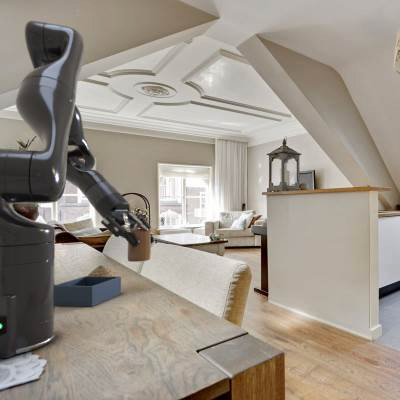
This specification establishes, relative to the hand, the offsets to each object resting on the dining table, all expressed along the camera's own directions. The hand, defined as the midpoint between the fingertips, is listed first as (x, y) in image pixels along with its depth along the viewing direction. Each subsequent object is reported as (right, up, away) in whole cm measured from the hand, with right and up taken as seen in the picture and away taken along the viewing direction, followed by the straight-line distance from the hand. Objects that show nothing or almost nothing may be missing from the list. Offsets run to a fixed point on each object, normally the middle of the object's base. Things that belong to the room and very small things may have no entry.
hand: (144, 243), depth 86 cm
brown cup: (-2, -5, 0) cm, 5 cm away
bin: (-10, -13, -8) cm, 18 cm away
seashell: (-20, -14, +13) cm, 28 cm away
